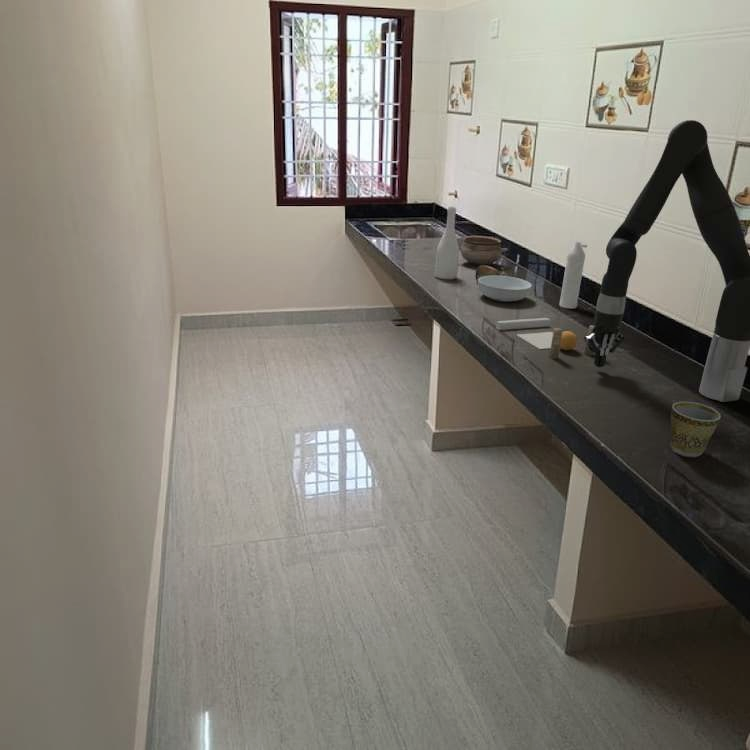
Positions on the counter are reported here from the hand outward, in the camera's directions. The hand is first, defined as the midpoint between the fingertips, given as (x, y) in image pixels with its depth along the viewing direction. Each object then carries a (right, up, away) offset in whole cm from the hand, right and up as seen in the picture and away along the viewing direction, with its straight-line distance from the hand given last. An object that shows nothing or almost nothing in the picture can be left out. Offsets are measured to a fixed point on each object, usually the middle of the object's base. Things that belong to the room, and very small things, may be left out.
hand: (599, 366), depth 196 cm
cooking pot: (-16, +49, +122) cm, 133 cm away
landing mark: (-10, +9, +24) cm, 27 cm away
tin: (-19, +34, +86) cm, 94 cm away
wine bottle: (-35, +40, +97) cm, 110 cm away
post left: (-11, +3, +9) cm, 15 cm away
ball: (-5, +8, +15) cm, 18 cm away
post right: (+2, +4, +14) cm, 15 cm away
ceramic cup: (+7, -20, -42) cm, 47 cm away
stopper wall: (-14, +14, +36) cm, 41 cm away
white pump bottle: (+9, +23, +62) cm, 67 cm away
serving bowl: (-15, +27, +69) cm, 76 cm away
